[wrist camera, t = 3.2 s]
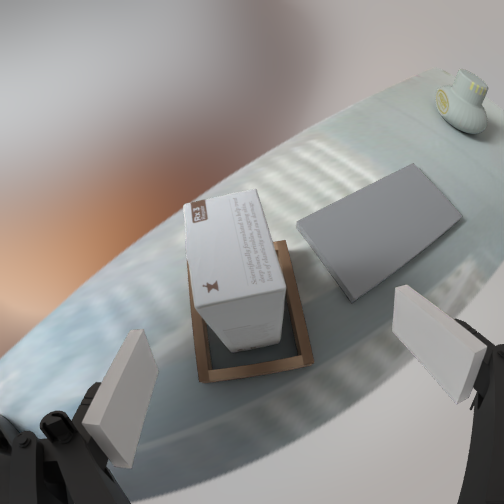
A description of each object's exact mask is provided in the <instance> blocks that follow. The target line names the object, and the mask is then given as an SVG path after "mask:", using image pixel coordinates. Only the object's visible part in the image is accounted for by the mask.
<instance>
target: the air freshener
mask: <svg viewBox="0 0 504 504" xmlns="http://www.w3.org/2000/svg"><path fill="white" fill-rule="evenodd" d="M487 91H488V86H487V85H486V83H485V82H484V81H483V80H482V79H480V78H479V77H478V76H476V75H475V74H473V73H471V72H469V71H467V70H464V69H460V70H459V71H458V74H457V76H456V79H455V81H454V84H453V86H442V87H440V88H438V90H437V92H436V106H437V109H438V111H439V113H440V114H441V116H442V117H443V118H444V119H445V120H446V121H447V122H448V123H449V124H451V125H452V126H453V127H455V128H457V129H459V130H461V131H463V132H466V133H471V134H477V133H480V132H482V131H484V130H485V128H486V126H487V116H486V112H485V110H484V108H483V106H482V103H483V100H484V98H485V96H486V93H487Z"/></svg>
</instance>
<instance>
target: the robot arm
mask: <svg viewBox="0 0 504 504" xmlns="http://www.w3.org/2000/svg"><path fill="white" fill-rule="evenodd" d="M392 332H393V333H394V334H395V335H396V336H397V337H398V338H399V340H400V341H401V342H402V343H403V344H404V345H405V346H406V347H407V348H408V349H409V351H410V352H411V353H412V354H413V355H414V356H415V357H416V358H417V359H418V361H419V362H420V363H421V364H422V365H423V366H424V367H425V369H426V370H427V371H428V372H429V373H430V374H431V375H432V377H433V378H434V379H435V380H436V381H437V382H438V383H439V384H440V386H441V387H442V388H443V389H444V390H445V392H446V393H447V394H448V395H449V396H450V397H451V399H452V400H453V401H454V402H455V403H456V404H458V403H460V402H462V401H463V400H466V399H467V398H469V396H470V394H471V391H472V389H473V388H474V389H475V390H476V391H477V393H476V396H475V398H474V400H473V402H472V405H471V407H470V410H472V408H473V406H474V418H473V427H472V435H471V443H470V449H469V455H468V461H467V467H466V471H465V476H464V480H463V485H462V488H461V492H460V496H459V500H458V503H457V504H504V344H500V345H497V346H495V345H494V344H492V343H491V342H490V341H489V340H487V339H486V338H485V337H483V336H482V335H481V334H480V333H479V332H478V333H477V331H476V330H475V329H473V328H472V327H471V326H470V325H468V324H467V323H466V322H464V321H461V320H459V319H452V318H451V317H450V316H448V315H447V314H446V313H445V312H443V311H442V310H441V309H439V308H438V307H437V306H435V305H434V304H433V303H431V302H430V301H429V300H427V299H426V298H425V297H423V296H422V295H420V294H419V293H418V292H416V291H415V290H414V289H412V288H411V287H409V286H408V285H403V286H399V287H395V299H394V312H393V323H392ZM158 373H159V370H158V367H157V365H156V362H155V360H154V357H153V354H152V352H151V349H150V346H149V343H148V340H147V337H146V335H145V332H144V329H137V330H130V331H129V333H128V335H127V337H126V339H125V340H124V342H123V344H122V346H121V347H120V349H119V351H118V353H117V355H116V357H115V358H114V360H113V362H112V364H111V366H110V368H109V370H108V371H107V373H106V375H105V377H104V379H103V381H102V383H101V382H96V383H95V384H93V385H92V386H91V387H90V388H89V389H88V391H87V393H86V394H85V396H84V399H83V400H82V402H81V405H80V406H79V407H78V409H77V411H76V413H75V415H74V417H73V419H72V421H71V420H70V418H69V417H68V415H67V414H66V413H65V412H63V411H53V412H50V413H49V414H47V415H45V417H44V418H43V419H42V420H41V422H40V429H41V431H42V432H43V433H44V434H45V436H46V437H47V439H38V438H37V437H36V435H35V434H34V433H33V432H31V431H23V432H21V433H19V432H18V431H17V430H16V429H15V427H14V426H13V425H12V424H11V423H10V422H9V421H8V420H7V419H5V418H4V417H3V416H1V415H0V504H131V503H130V501H129V500H128V498H127V497H126V495H125V494H124V492H123V491H122V489H121V488H120V486H119V485H118V483H117V482H116V480H115V478H114V477H113V475H112V473H111V472H110V470H109V469H108V468H107V467H106V465H107V461H108V459H109V460H110V462H111V463H112V464H113V465H114V466H115V467H120V468H129V469H132V465H133V461H134V457H135V453H136V449H137V446H138V442H139V438H140V434H141V431H142V427H143V424H144V420H145V416H146V413H147V410H148V406H149V403H150V399H151V396H152V393H153V389H154V386H155V383H156V379H157V376H158Z"/></svg>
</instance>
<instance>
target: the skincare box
mask: <svg viewBox="0 0 504 504" xmlns="http://www.w3.org/2000/svg"><path fill="white" fill-rule="evenodd" d="M183 211H184V222H185V233H186V241H185V249H186V257H187V261H188V264H189V271H190V279H191V287H192V293H193V300H194V307H195V309H196V310H197V311H198V313H199V314H200V315H201V317H202V318H203V319H204V320H205V322H206V323H207V324H208V325H209V326H210V327H211V329H212V330H213V331H214V332H215V333H216V335H217V336H218V337H219V338H220V340H221V341H222V342H223V343H224V345H225V346H226V347H227V348H228V349H229V350H230V352H232V353H236V352H241V351H246V350H251V349H256V348H261V347H265V346H270V345H274V344H278V343H279V342H280V340H281V331H282V322H283V313H284V299H285V293H286V284H285V280H284V277H283V274H282V271H281V267H280V264H279V261H278V258H277V254H276V251H275V248H274V244H273V241H272V238H271V234H270V231H269V228H268V224H267V221H266V218H265V215H264V211H263V208H262V205H261V202H260V199H259V196H258V193H257V190H256V189H252V190H246V191H241V192H236V193H231V194H226V195H222V196H218V197H213V198H209V199H205V200H200V201H196V202H192V203H187V204H184V206H183Z"/></svg>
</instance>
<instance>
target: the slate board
mask: <svg viewBox="0 0 504 504" xmlns="http://www.w3.org/2000/svg"><path fill="white" fill-rule="evenodd" d="M461 217H462V215H461V214H460V213H459V212H458V210H457V209H456V208H455V207H454V206H453V205H452V203H451V202H450V201H449V200H448V199H447V198H446V197H445V196H444V194H443V193H442V192H441V191H440V190H439V189H438V188H437V187H436V186H435V185H434V184H433V183H432V182H431V181H430V179H429V178H428V177H427V176H426V175H425V174H424V173H423V172H422V171H421V170H420V169H419V168H418V167H417V166H416V165H415V164H414V163H413V164H411V165H409V166H407V167H405V168H403V169H401V170H398V171H396V172H394V173H392V174H390V175H388V176H386V177H384V178H382V179H380V180H378V181H376V182H374V183H372V184H370V185H368V186H366V187H364V188H362V189H360V190H358V191H356V192H354V193H352V194H350V195H348V196H346V197H344V198H342V199H340V200H338V201H336V202H334V203H332V204H330V205H328V206H326V207H325V208H323V209H321V210H319V211H317V212H315V213H313V214H311V215H309V216H307V217H305V218H303V219H301V220H299V221H297V225H296V227H297V229H298V230H299V231H300V233H301V234H302V235H303V237H304V238H305V239H306V241H307V242H308V243H309V245H310V246H311V247H312V249H313V250H314V251H315V253H316V254H317V255H318V257H319V258H320V260H321V261H322V262H323V264H324V265H325V266H326V268H327V269H328V270H329V272H330V273H331V275H332V276H333V277H334V279H335V280H336V282H337V283H338V284H339V286H340V287H341V289H342V290H343V291H344V293H345V294H346V296H347V297H348V298H349V300H350V301H351V303H352V302H354V301H355V300H357V299H358V298H360V297H361V296H363V295H364V294H365V293H367V292H368V291H370V290H371V289H373V288H374V287H375V286H377V285H378V284H380V283H381V282H382V281H384V280H385V279H386V278H388V277H389V276H391V275H392V274H393V273H395V272H396V271H397V270H399V269H400V268H401V267H403V266H404V265H405V264H407V263H408V262H409V261H410V260H412V259H413V258H414V257H416V256H417V255H418V254H419V253H421V252H422V251H423V250H424V249H426V248H427V247H428V246H429V245H431V244H432V243H433V242H434V241H435V240H437V239H438V238H439V237H440V236H441V235H443V234H444V233H445V232H446V231H447V230H449V229H450V228H451V227H452V226H453V225H454V224H456V223H457V222H458V221H459V220H460V219H461Z"/></svg>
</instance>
